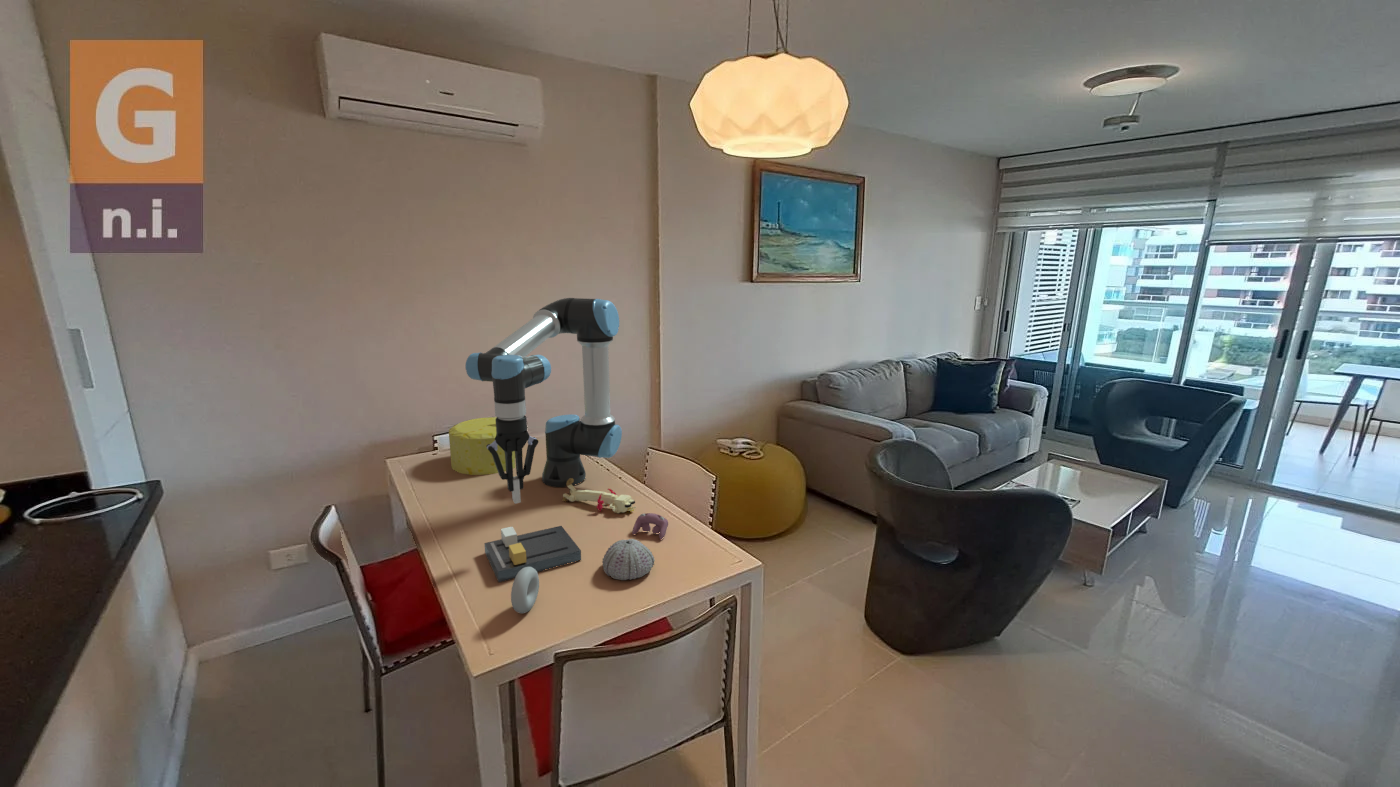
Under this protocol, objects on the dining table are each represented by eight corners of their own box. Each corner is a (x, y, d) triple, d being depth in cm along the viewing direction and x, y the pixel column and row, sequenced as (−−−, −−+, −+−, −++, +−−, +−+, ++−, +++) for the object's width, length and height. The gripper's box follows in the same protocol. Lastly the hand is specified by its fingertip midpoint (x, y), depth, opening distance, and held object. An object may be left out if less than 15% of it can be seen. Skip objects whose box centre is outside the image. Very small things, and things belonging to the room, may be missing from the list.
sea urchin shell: (592, 578, 140) (591, 549, 139) (617, 552, 153) (617, 525, 151) (639, 590, 136) (639, 560, 134) (662, 562, 148) (662, 535, 147)
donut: (528, 595, 132) (526, 557, 130) (542, 597, 132) (540, 558, 129) (509, 622, 123) (506, 581, 120) (524, 623, 122) (522, 582, 120)
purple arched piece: (667, 540, 163) (671, 516, 164) (662, 540, 159) (666, 515, 160) (635, 535, 166) (640, 511, 167) (630, 534, 162) (634, 510, 163)
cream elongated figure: (559, 508, 181) (627, 517, 172) (556, 483, 179) (624, 491, 170) (577, 497, 190) (642, 505, 181) (574, 473, 188) (640, 479, 179)
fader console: (561, 535, 161) (561, 525, 160) (581, 560, 148) (580, 550, 147) (485, 553, 150) (484, 542, 150) (498, 582, 137) (497, 571, 136)
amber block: (521, 553, 145) (520, 542, 144) (526, 562, 140) (525, 551, 140) (509, 556, 143) (508, 545, 142) (514, 565, 139) (513, 554, 138)
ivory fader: (512, 536, 153) (512, 526, 152) (517, 544, 149) (516, 534, 148) (501, 539, 151) (500, 528, 151) (505, 547, 147) (505, 536, 147)
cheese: (537, 462, 217) (535, 425, 214) (473, 481, 198) (470, 440, 194) (501, 446, 234) (499, 412, 230) (438, 462, 214) (435, 425, 211)
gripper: (532, 409, 149) (537, 490, 155) (481, 415, 143) (487, 500, 149) (540, 416, 143) (545, 501, 149) (487, 423, 137) (494, 512, 143)
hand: (516, 501), depth 149 cm, fingers closed
